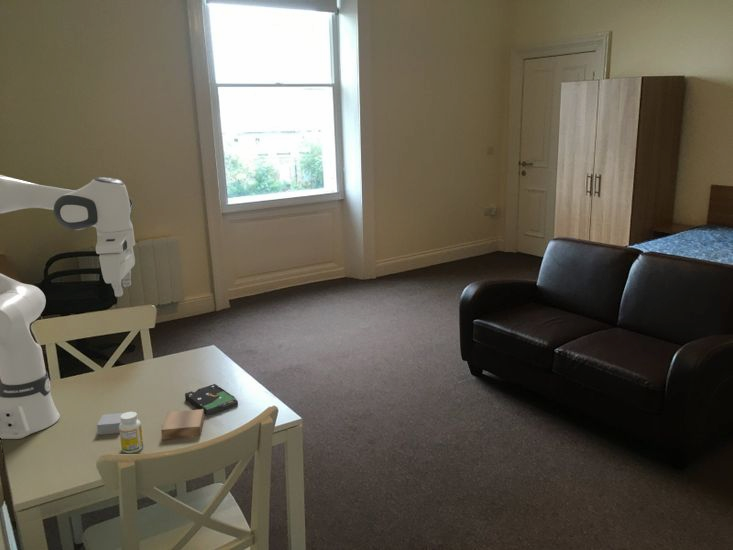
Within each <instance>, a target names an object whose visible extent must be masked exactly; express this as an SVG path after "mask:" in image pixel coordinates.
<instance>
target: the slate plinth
mask: <svg viewBox="0 0 733 550" xmlns="http://www.w3.org/2000/svg"><path fill="white" fill-rule="evenodd" d="M124 413H125V412H120V413H118V412H117V413H108V414H102V415H101V418H100V419H99V421H98V422H97V424H96V427H97V433H98V436H101V435H103V436H104V435H111V434H113V435H114V434H120V432H119V425H120V423H121V418H120V417H121V415H122V414H124Z"/></svg>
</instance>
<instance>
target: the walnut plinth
mask: <svg viewBox="0 0 733 550" xmlns="http://www.w3.org/2000/svg"><path fill="white" fill-rule="evenodd" d="M205 417H206V416H205V414H204V409H200V410H198V409H190V410H179V411H177V410H176V411H168V412H167V413H166V415H165V419H164V422H163V423H162V424H163V425H162V427H161V439H162V441H163V440H165V441H166V440H175V439H184V438H187V437H188V438H196V437H197V438H198V437H201V436H202V433H203V432H202V431H203V427H204V424H205V423H204V422H205ZM201 432H202V433H201Z"/></svg>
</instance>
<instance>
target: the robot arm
mask: <svg viewBox="0 0 733 550" xmlns="http://www.w3.org/2000/svg"><path fill="white" fill-rule="evenodd" d="M130 201H131V200H130V197H129V193H128V189H127V186H126V184H125V183H124V182H123V181H122V180H120V179H118V178H114V177H103V176H102V177H101V176H99V177H96V178H95V177H94V178H93V179H92V180H91V181H90V182H89V183H87V184H86V185H83V186H82V187H80V188H76V189H74V188H66V187H59V186H54V185H48V184H40V183H34V182H29V181H27V180H26V181H25V180H22V179H18V178H14V177H10V176H6V175H3V174H0V214H6V213H11V212H14V211H19V210H24V209H45V210H51V211H53V214H54V215H53V216H54V218H55V219H56V222H57V223H58V224H59V225H60V226H61V227H63V228H64V229H67V230H71V231H80V230H84V229H86V228H89V227H94V228H95V229H96V236H97V237H96V239H97V242H96V245H95V252H96V254H97V255H99V256H98V257H99V263H100V264H99V266H100V270H101V274H102V278H103V280H104V283H105V284H111V287H112V289H113V291H114V293H113V294H114V296H115V297H116V298H118V297H122V296H123V295H124V288H128V287H130V286H131V285H132V282H131V281H132V280H131V278H132V277H131V276H132V269H133V267H134V266H135V265H136V257H135V252H134V246H136V240H135V233H134V226H133V223H132V220H131V214H132V213H131V212H132V209H131V202H130ZM122 286H123V287H124V288H123V287H122ZM46 302H47V300H46V295H45V294H44V292H43V290H41V289H40V288H39V287H38V286H36V285H33V284H28V283H23V282H20V281H18V280H16V279H13V278H11V277H9V276H7V275H6V274H3V273H0V437H1V439H0V440H5V439H6V440H18V439H20V440H21V439H24V438H25V437H26V438H27V436H29V435H31V434H34V433H37V432H40V431H42V430H45V429H47V428H49V427H51V426H53V425H55V423H56V422H58V420H59V419H60V416H61V415H60V412H59V411H58V410H57V407H56V404H55V403H54V399H53V397H52V393H51V382H50V378H49V373H48V371H47V370H46V366H45V361H44V355H43V349H42V347H41V344H38V343H37V342H36V341H35V340H34V338H33V336H32V333H31V330H30V325H31V323H33V322H35V321H36V320H37V319H38V318H39V317H40V316H41V315H42V312H43V311H44V310H45V307H46V304H47V303H46Z"/></svg>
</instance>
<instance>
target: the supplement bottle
mask: <svg viewBox="0 0 733 550" xmlns="http://www.w3.org/2000/svg"><path fill="white" fill-rule="evenodd" d="M123 413H124V414H122V415H121V417H120V418H121V423H120V425H119V432H120V433H119V438H120V445H121V451H122V452H123V453H125V452H126V453H125V454H133V453H132V452H135V453H137V452H139V451H141V450H142V449H143V447H144V439H143V430H142V423H141V421H140V419H138V413H137V412H135V411H127V412H123Z"/></svg>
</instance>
